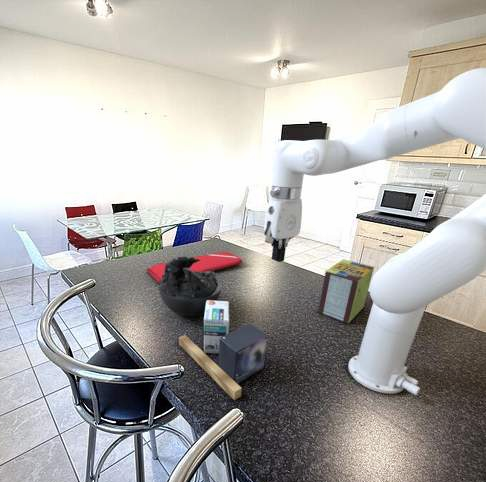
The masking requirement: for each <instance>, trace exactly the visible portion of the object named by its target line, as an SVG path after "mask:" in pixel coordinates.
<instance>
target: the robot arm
mask: <svg viewBox="0 0 486 482" xmlns="http://www.w3.org/2000/svg"><path fill="white" fill-rule="evenodd" d="M459 139H461V140H463V141H466V142H468V143H470V144H472V145H474V146H476V147H479V148H481V149H483V150H486V67H480V68H479V67H478V68H473V69H470V70H467V71H464V72H463V73H461V74H459V75H457V76H455V77H454V78H452V79H451V80H450V81H448V82H447V83H446V84H445V85H444V86H443V88H441V90H439V91H437V92H434V93H432V94H429V95H426V96H423V97H421V98H418V99H416V100H413V101H411V102H408V103H405V104H402V105H400V106H398V107H394V108H392V109H390V110H387V111H386V112H384V113H382V114H381V115H380V116H379V117H378V118H377V119H376V121H375V122H373V123H372V124H371V125H369V126H367V127H366V128H363V129H361V130H358V131H356V132H354V133H351V134H348V135H344V136H343V137H339V138H337V139H310V140H303V141H302V140H280V141H278V142H277V143H276V144H275V148H274V149H275V150H274V159H273V168H272V177H271V189H270V190H269V191H270V192H269V195H270V197H269V200H268V203H267V207H266V211H265V217H264V225H263V234H264V236H265V239H264V242H265V243H267V244H270V245H271V247H272V251H271V260H272V261H275V262H278V263H281V262H284V261H285V258H286V257H285V256H286V251H287V249H286V248H287V247H288V246H289V242H290V241H291V240H292V239H294V238H295V237H297V236H299V234H300V232H301V227H302V217H303V201H302V198H301V197H302V191H303V190H302V189H303V183H304V176H305V175H306V176H312V177H316V176H323V175H324V176H325V175H332V174H336V173H339V172H343V171H347V170H350V169H353V168H357V167H362V166H364V165H368V164H371V163H374V162H378V161H385V160H388V159H390V158H391V159H392V158H394V157H395V158H396V157H398V156H401V155H402V156H403V155H406V154H409V153H412V152H415V151H420V150H423V149H426V148H429V147H433V146H438V145H441V144H445V143H448V142H451V141H456V140H459ZM485 271H486V193H484V194H483V195H482V196H481V197H479V198H478V199H476V201H474V202H473V203H471V204H470V205H468V206H467V207H465V208H464V209H463V210H461V211H460V212H458V213H457V214H455V215H454V216H452V217H450V218H449V219H447V220H446V221H443V222H441V223H440V224H438V225H437V226H435V228H433V229H432V230H431V232H430V233H429V234H428V235H426V236H425V237H424V238H422V239H421V240H420V241H419V242H418V243H415V245H413V246H411V248H409V249H407V250H406V251H404V252H402V253H399V254H395V255H394V256H392V257H391V258H389V259H388V260H387V261H386V262H385V263H384V264H383V265H382V266H381V267H380V268H379V269H378V270H377V271H376V272H375V273H374V274H373V275H372V278H371V281H370V285H369V289H368V293H369V296H370V298H371V300H372V306H371V309H370V313H369V316H368V319H367V324H366V326H365V329H364V334H363V337H362V341H361V344H360V347H359V351H358V354H357V355H355V356H352V357H351V358H350V360H348V364H347V365H348V366H347V368H348V369H347V370H348V372H349V373H350V375H351V377H352V378H353V379H354V380H355V381H356V382H357V383H359V384H360V385H362V386H363V387H365V388H367V389H369V390H372V391H374V392H377V393H381V394H387V395H388V394H389V395H391V394H398V393H401V392H402V391H404V389H405V390H406V391H407V392H408V393H411V394H412V395H414V396H418V395H419V393H420V391H421V387H419V386H418V384H419V380H417V379H415V378H414V377H411V376H409V374H408V373H407V372H408V371H407V370H408V367H407V366H406V365H405V364H406V361H407V359H408V356H409V353H410V352H411V351H410V350H411V349H412V346H413V342H414V340H415V337H416V334H417V332H418V330H419V327H420V324H421V321H422V318H423V316H424V314H425V310H426V307H427V306H428V305H430V304H433V302H435V301H437V300H439V299H441V298H443V297H444V296H446V295H448V294H450V293H452V292H453V291H456V290H457V289H459V288H461V287H463V286H464V285H466V284H468V283H470V282H472V281H473V280H475V279H476V278H477V277H479V276H480V275H481V274H483V273H484V272H485Z"/></svg>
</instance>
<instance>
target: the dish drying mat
mask: <svg viewBox="0 0 486 482" xmlns="http://www.w3.org/2000/svg"><path fill="white" fill-rule="evenodd" d="M193 257H194V258H195V259H199V260H200V261H198V262H196V263H193V265H192V266H191V267H190V268H189V269H190V270H191V271H197V272H205V271H210V270H211V269H213V270H214V272H215V271H220V270H223V269H226V268H230V267H234V266H237V265H240V264H242V263H243V262H244V260H243V259H242V258H241V257H238V256H237V255H235V254H232V253H231V252H227V251H220V252H219V251H218V252H213V253H207V254H204V255H199V256H198V255H197V256H193ZM168 262H169V261H168ZM168 262H161V263H158V264H154V265H153V266H151V267H147V268H146V271H147V273H148V274H150V275H151V276H152V277H153V278H154V280H156V281H157V283H158V284H160V283H161V280H162V275H163V274H164V270H165V264H167V263H168Z"/></svg>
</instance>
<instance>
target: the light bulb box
mask: <svg viewBox="0 0 486 482" xmlns="http://www.w3.org/2000/svg"><path fill="white" fill-rule="evenodd" d="M229 333H230V301H227V300H217V301H212V300H207V301H206V307H205V313H204V317H203V352H204V353H205V354H216V355H217V354H218V355H219V338H220V337H222V336H224V335H227V334H229Z"/></svg>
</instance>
